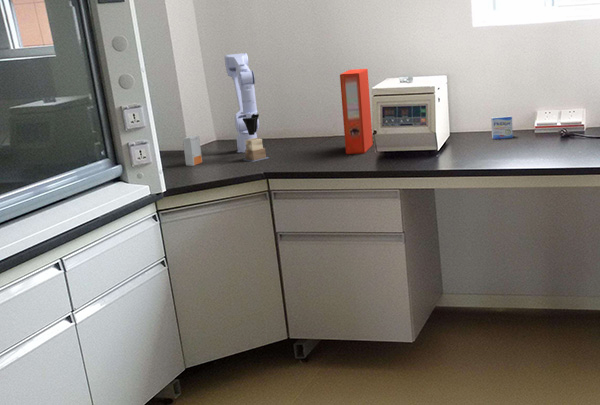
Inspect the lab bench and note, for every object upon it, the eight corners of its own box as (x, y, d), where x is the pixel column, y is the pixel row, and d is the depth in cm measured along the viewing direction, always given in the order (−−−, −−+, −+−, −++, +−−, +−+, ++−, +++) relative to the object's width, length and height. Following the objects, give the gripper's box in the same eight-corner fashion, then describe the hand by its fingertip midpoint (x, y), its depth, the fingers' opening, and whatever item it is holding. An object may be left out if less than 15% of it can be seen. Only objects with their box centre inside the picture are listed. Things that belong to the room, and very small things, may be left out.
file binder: (373, 144, 328) (367, 68, 320) (365, 153, 312) (359, 72, 304) (354, 145, 330) (348, 69, 322) (346, 154, 314) (338, 74, 306)
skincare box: (194, 167, 321) (190, 138, 318) (186, 166, 323) (182, 138, 320) (203, 163, 326) (199, 135, 323) (195, 163, 328) (191, 135, 325)
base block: (246, 159, 322) (244, 149, 321) (258, 156, 325) (256, 147, 324) (254, 160, 317) (252, 151, 316) (266, 157, 320) (265, 148, 319)
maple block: (246, 149, 321) (245, 140, 320) (256, 147, 323) (255, 137, 322) (252, 150, 317) (251, 141, 316) (263, 148, 319) (261, 138, 318)
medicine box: (492, 139, 313) (491, 118, 310) (491, 137, 317) (490, 116, 315) (513, 138, 311) (512, 116, 309) (511, 136, 315) (511, 115, 313)
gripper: (241, 99, 328) (245, 131, 331) (236, 103, 314) (241, 137, 317) (258, 98, 328) (261, 130, 331) (254, 101, 313) (258, 135, 317)
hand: (252, 133), depth 324 cm, fingers open, 7 cm apart
